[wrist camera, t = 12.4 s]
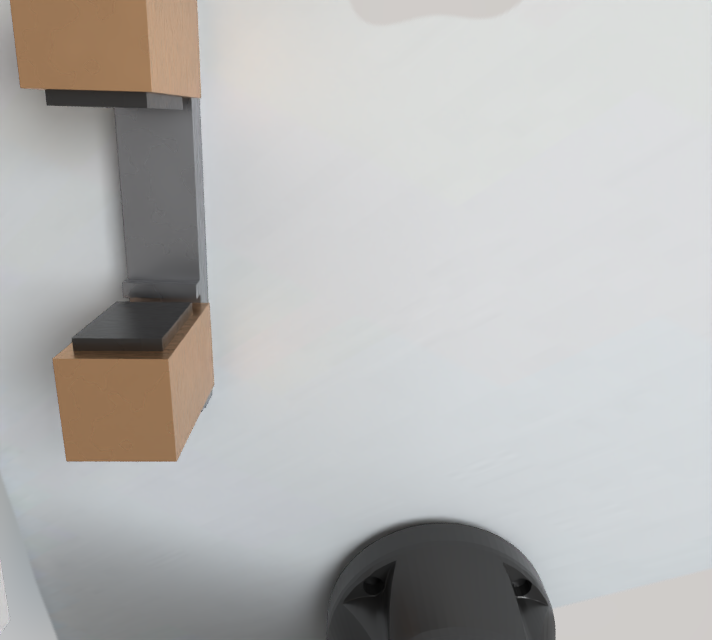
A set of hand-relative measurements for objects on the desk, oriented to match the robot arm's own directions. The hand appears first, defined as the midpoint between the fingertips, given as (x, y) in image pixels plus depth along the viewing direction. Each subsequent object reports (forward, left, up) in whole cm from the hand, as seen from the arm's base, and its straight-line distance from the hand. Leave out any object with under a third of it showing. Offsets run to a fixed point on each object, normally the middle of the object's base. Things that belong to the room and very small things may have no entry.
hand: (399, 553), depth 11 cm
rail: (+2, +11, -29) cm, 31 cm away
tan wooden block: (-6, +11, -27) cm, 29 cm away
